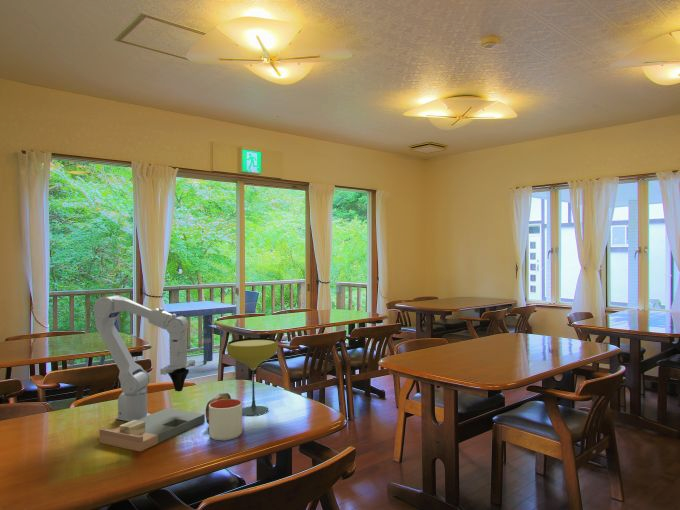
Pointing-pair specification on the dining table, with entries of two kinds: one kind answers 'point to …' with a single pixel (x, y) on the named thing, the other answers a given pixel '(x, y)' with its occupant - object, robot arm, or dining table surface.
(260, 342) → the cocktail glass
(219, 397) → the tin
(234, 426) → the cup
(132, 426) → the beech block
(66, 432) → the dining table surface
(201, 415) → the board
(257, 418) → the dining table surface
